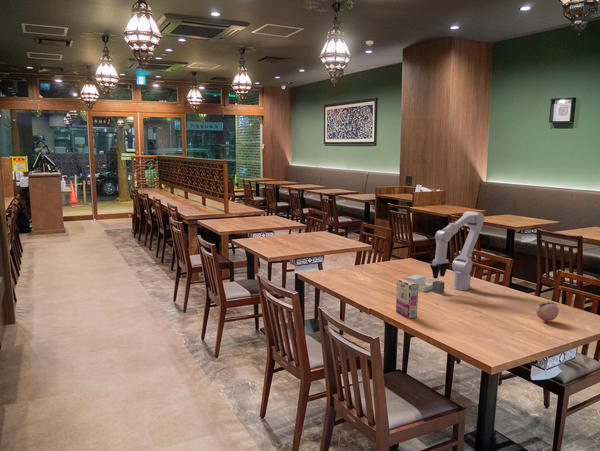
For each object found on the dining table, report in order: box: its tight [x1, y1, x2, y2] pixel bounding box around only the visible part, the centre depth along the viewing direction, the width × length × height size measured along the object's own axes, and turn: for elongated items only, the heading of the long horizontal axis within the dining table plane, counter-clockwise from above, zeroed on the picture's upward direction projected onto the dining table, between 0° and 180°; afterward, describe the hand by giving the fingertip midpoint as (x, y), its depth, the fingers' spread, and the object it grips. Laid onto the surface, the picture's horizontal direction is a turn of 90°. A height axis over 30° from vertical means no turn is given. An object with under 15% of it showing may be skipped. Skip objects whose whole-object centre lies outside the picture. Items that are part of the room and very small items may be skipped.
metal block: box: [431, 280, 445, 295], centre depth 262 cm, size 4×4×6 cm
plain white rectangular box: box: [405, 274, 426, 286], centre depth 276 cm, size 10×6×5 cm, turn 133°
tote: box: [418, 277, 443, 293], centre depth 274 cm, size 18×16×3 cm
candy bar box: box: [395, 278, 419, 320], centre depth 226 cm, size 11×5×16 cm, turn 21°
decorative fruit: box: [535, 300, 559, 323], centre depth 218 cm, size 9×8×10 cm
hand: (438, 277), depth 261 cm, fingers open, 7 cm apart
